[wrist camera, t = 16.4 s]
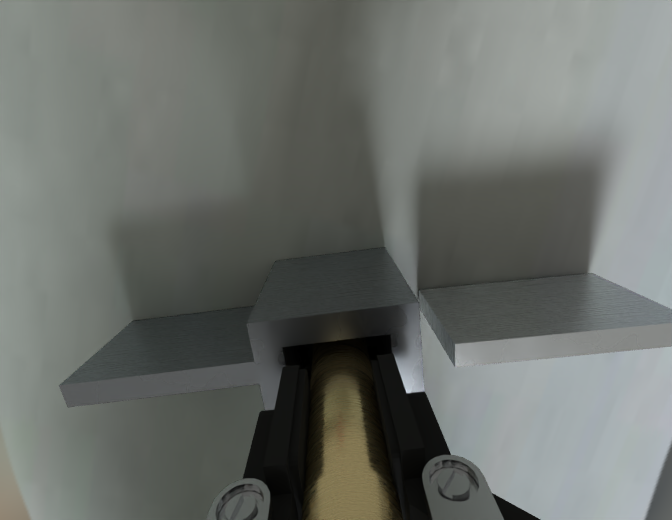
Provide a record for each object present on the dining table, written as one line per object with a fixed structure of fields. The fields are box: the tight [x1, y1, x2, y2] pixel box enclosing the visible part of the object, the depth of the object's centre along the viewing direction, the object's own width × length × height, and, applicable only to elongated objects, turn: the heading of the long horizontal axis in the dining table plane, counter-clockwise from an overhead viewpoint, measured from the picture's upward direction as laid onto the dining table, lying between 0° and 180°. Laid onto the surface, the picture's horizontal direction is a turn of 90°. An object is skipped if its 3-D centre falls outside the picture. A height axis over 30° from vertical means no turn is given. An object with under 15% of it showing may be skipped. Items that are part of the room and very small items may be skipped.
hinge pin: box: [302, 337, 404, 520], centre depth 11 cm, size 2×2×11 cm
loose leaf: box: [419, 273, 672, 368], centre depth 16 cm, size 1×9×6 cm, turn 95°
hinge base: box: [59, 247, 424, 411], centre depth 16 cm, size 6×14×7 cm, turn 97°
